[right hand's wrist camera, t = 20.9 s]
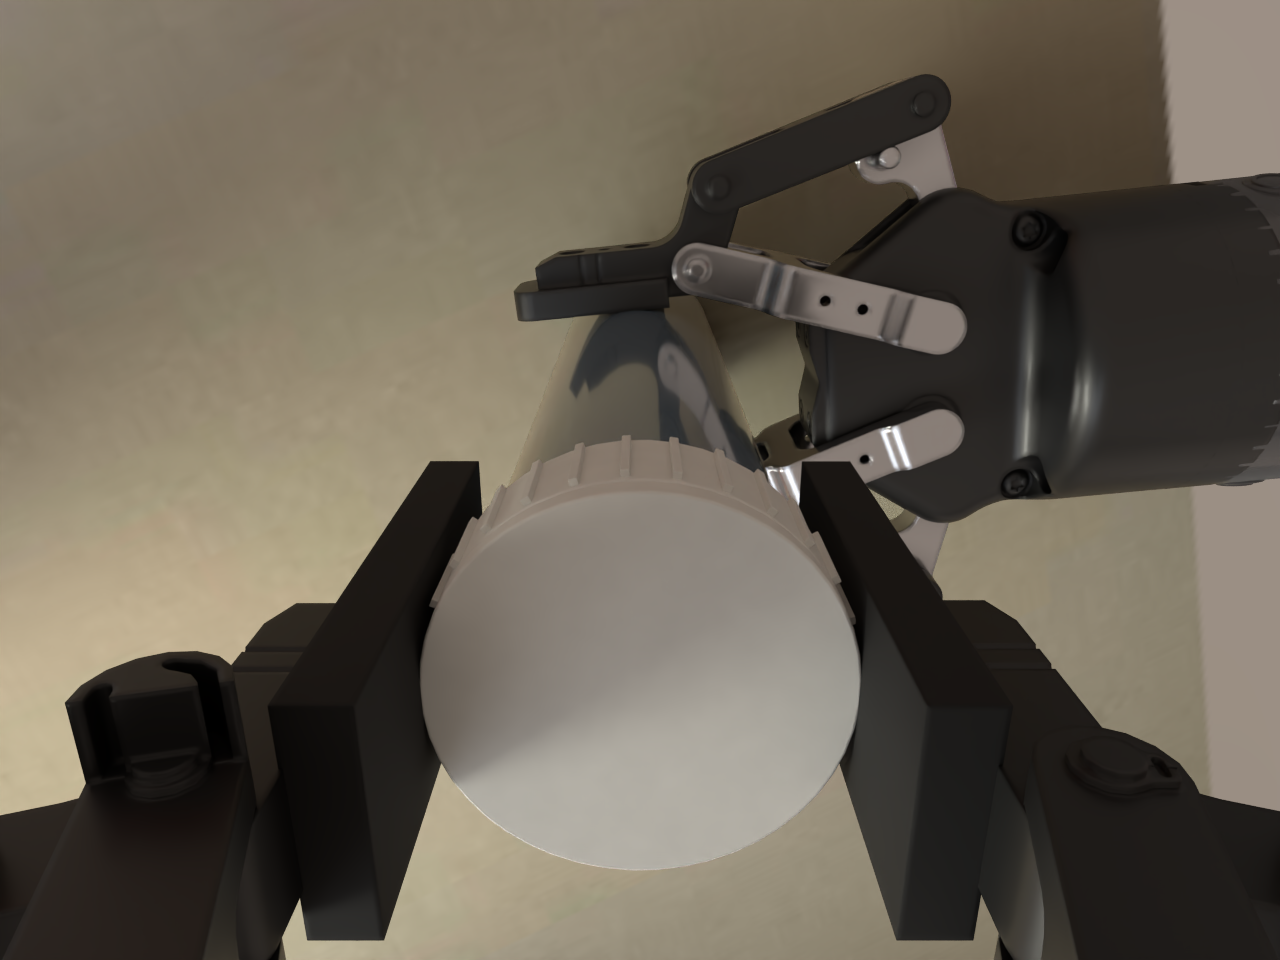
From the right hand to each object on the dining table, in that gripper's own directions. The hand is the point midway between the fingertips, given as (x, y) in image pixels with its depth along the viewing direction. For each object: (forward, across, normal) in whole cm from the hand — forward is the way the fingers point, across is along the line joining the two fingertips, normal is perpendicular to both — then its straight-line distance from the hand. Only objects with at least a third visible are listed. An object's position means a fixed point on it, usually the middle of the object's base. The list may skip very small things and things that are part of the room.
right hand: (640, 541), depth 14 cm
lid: (-4, 0, 0) cm, 4 cm away
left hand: (+9, -3, 0) cm, 10 cm away
